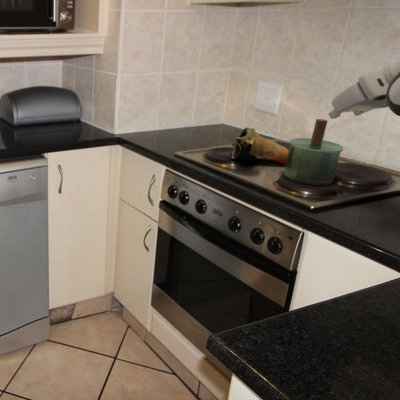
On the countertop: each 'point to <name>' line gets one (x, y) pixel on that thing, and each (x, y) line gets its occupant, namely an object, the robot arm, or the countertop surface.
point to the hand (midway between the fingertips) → (343, 114)
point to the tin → (311, 166)
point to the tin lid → (317, 141)
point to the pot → (257, 147)
